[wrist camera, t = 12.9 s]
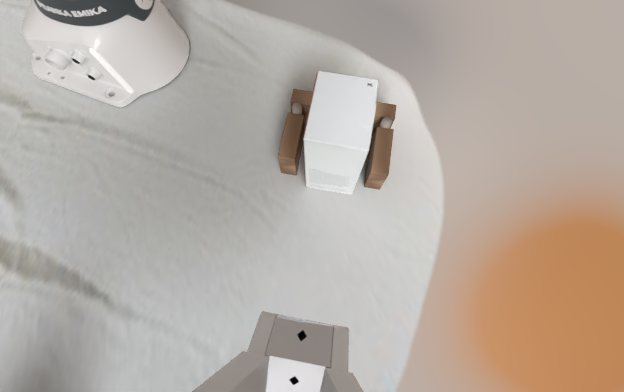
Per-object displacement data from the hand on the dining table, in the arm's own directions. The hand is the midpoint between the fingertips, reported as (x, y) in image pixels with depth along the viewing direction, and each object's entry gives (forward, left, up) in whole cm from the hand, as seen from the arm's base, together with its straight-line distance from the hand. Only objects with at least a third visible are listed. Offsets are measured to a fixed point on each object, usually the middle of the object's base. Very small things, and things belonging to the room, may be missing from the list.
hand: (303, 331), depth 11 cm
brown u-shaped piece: (0, +21, -27) cm, 35 cm away
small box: (0, +19, -28) cm, 33 cm away
